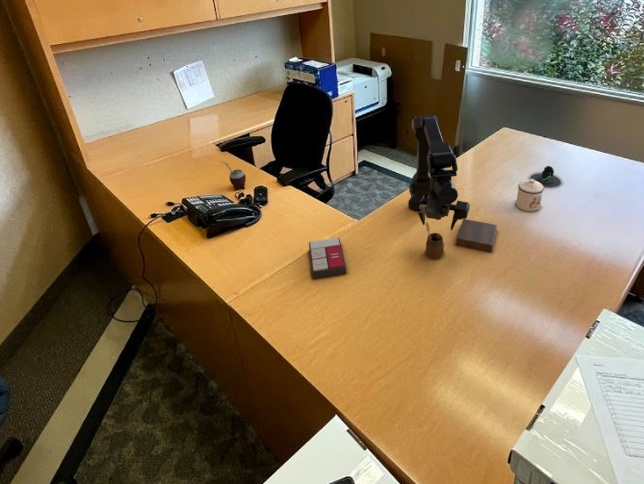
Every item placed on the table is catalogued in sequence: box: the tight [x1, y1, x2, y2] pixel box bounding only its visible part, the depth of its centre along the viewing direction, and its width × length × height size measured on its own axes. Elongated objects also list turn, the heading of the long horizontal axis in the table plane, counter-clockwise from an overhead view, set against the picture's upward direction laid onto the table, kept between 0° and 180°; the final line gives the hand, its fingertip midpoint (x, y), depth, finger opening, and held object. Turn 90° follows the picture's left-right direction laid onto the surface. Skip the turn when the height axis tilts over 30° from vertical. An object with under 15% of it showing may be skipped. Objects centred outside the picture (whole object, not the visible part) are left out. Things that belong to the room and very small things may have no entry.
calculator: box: [308, 237, 347, 280], centre depth 140 cm, size 11×4×15 cm
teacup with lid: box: [515, 178, 545, 212], centre depth 160 cm, size 12×9×12 cm
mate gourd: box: [219, 160, 247, 191], centre depth 185 cm, size 8×8×15 cm
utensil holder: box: [425, 221, 445, 260], centre depth 138 cm, size 6×6×12 cm
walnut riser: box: [455, 218, 498, 253], centre depth 146 cm, size 12×12×3 cm
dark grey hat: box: [529, 165, 562, 188], centre depth 175 cm, size 12×12×12 cm
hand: (437, 226), depth 136 cm, fingers open, 9 cm apart
